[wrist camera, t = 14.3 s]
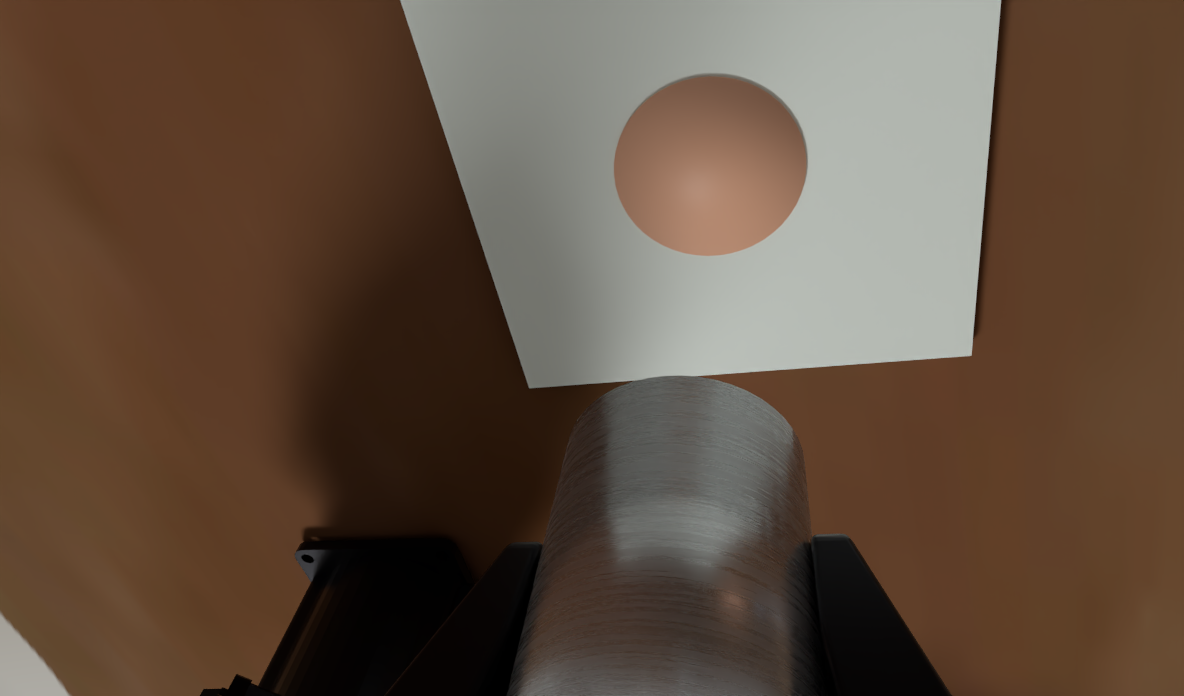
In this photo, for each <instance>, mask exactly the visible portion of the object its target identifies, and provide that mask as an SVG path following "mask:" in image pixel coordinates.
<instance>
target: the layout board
mask: <svg viewBox="0 0 1184 696" xmlns="http://www.w3.org/2000/svg"><path fill="white" fill-rule="evenodd" d="M400 1H401V4H402V7H403V10H404V13H405V16H406V19H407V22H408V25H409V28H410V31H411V34H412V37H413V40H414V43H415V46H416V49H417V52H418V55H419V58H420V61H421V64H422V67H423V70H424V73H425V76H426V79H427V82H428V85H429V88H430V91H431V94H432V97H433V100H434V103H435V106H436V109H437V112H438V115H439V118H440V121H441V124H442V127H443V130H444V133H445V136H446V139H447V142H448V145H449V148H450V151H451V154H452V157H453V160H454V163H455V166H456V169H457V173H458V176H459V179H460V182H461V185H462V188H463V191H464V194H465V197H466V200H467V203H468V206H469V209H470V212H471V215H472V218H473V221H474V224H475V227H476V230H477V233H478V236H479V239H480V242H481V245H482V248H483V251H484V254H485V257H486V260H487V263H488V266H489V269H490V272H491V275H492V278H493V281H494V284H495V287H496V290H497V293H498V296H499V299H500V302H501V305H502V308H503V311H504V314H505V317H506V320H507V323H508V326H509V329H510V332H511V335H512V338H513V341H514V344H515V347H516V350H517V353H518V356H519V359H520V362H521V365H522V368H523V371H524V374H525V377H526V380H527V383H528V386H529V388H541V387H554V386H568V385H581V384H595V383H608V382H622V381H635V380H642V379H646V378H652V377H660V376H703V375H717V374H730V373H744V372H757V371H771V370H784V369H798V368H811V367H825V366H839V365H852V364H866V363H879V362H893V361H906V360H920V359H933V358H947V357H960V356H971V355H972V344H973V332H974V320H975V308H976V296H977V284H978V272H979V260H980V248H981V236H982V224H983V212H984V200H985V188H986V176H987V164H988V152H989V140H990V128H991V116H992V104H993V92H994V80H995V68H996V56H997V44H998V32H999V20H1000V8H1001V0H400Z"/></svg>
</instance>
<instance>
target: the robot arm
mask: <svg viewBox="0 0 1184 696" xmlns="http://www.w3.org/2000/svg"><path fill="white" fill-rule="evenodd" d="M542 547H543V545H542V544H541V543H540V542H515V543H511V544H510V545H508V546H507V547H506V548H505V549H504V550H503V551H502V553H501V554H500V555H499V556H498V557H497V559H496V560H495V561H494V562H493V564H492V565H491V566H490V567H489V568H488V570H487V571H486V572H485V573H484V575H483V576H482V577H481V578H480V579H479V581H478V582H477V583H476V584H475V583H474V581H473V579H472V577H471V575H470V573H469V571H468V568H467V566H466V564H465V562H464V560H463V558H462V556H461V554H460V551H459V549H458V547H457V546H456V544H455V543H453V542H452V541H450V540H447V539H442V538H432V539H393V540H354V541H315V542H303V543H301V544H300V546H299V547H298V549H297V551H296V553H295V558H296V560H297V561H298V563H299V564H300V566H301V567H302V569H303V570H304V572H305V573H306V575H307V576H308V578H309V579H310V581H311V584H310V586H309V588H308V590H307V591H306V593H305V595H304V597H303V599H302V601H301V603H300V605H299V607H298V609H297V611H296V613H295V615H294V617H293V619H292V621H291V623H290V625H289V627H288V628H287V630H286V632H285V634H284V636H283V638H282V640H281V642H280V644H279V646H278V648H277V650H276V652H275V654H274V656H273V658H272V660H271V662H270V663H269V665H268V667H267V669H266V671H265V673H264V675H263V677H262V679H261V681H260V683H259V685H258V686H257V685H254V684H252V683H251V682H252V680H250V679H248V678H245V677H243V676H240V675H238V674H236V676H235V678H234V680H233V681H232V683H231V685H230V687H229V689H225V688H223V687H222V689H203V691H202V693H201V695H200V696H506V695H507V691H508V686H509V682H510V678H511V674H512V670H513V666H514V662H515V658H516V654H517V650H518V645H519V641H520V637H521V633H522V629H523V625H524V621H525V617H526V613H527V608H528V604H529V600H530V596H531V592H532V588H533V584H534V580H535V576H536V571H537V567H538V563H539V559H540V555H541V551H542ZM811 549H812V560H813V570H814V580H815V590H816V600H817V611H818V621H819V631H820V641H821V649H822V657H823V664H824V670H825V677H826V684H827V691H828V696H952V695H951V694H950V692H949V690H948V689H947V687H946V686H945V684H944V683H943V681H942V680H941V678H940V676H939V675H938V673H937V672H936V670H935V669H934V667H933V666H932V664H931V662H930V661H929V659H928V658H927V656H926V655H925V653H924V652H923V650H922V648H921V647H920V645H919V644H918V642H917V641H916V639H915V638H914V636H913V634H912V633H911V631H910V630H909V628H908V627H907V625H906V624H905V622H904V620H903V619H902V617H901V616H900V614H899V613H898V611H897V610H896V608H895V607H894V605H893V603H892V602H891V600H890V599H889V597H888V596H887V594H886V593H885V591H884V589H883V588H882V586H881V585H880V583H879V582H878V580H877V579H876V577H875V575H874V574H873V572H872V571H871V569H870V568H869V566H868V565H867V563H866V561H865V560H864V558H863V557H862V555H861V554H860V552H859V551H858V549H857V547H856V546H855V544H854V543H853V541H852V540H851V539H850V538H849V537H848V536H847V535H845V534H817V535H814V536H813V537H812V539H811Z"/></svg>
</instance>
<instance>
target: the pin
mask: <svg viewBox="0 0 1184 696" xmlns="http://www.w3.org/2000/svg"><path fill="white" fill-rule="evenodd" d="M811 539H812V531H811V521H810V511H809V501H808V491H807V481H806V471H805V462H804V456H803V450H802V447H801V445H800V442H799V439H798V437H797V436H796V434H795V432H794V430H793V429H792V427H791V426H790V425H789V423H788V422H787V421H786V420H785V418H784V417H783V416H782V415H781V414H780V413H779V412H777V411H776V410H775V409H774V408H773V407H772V406H770V405H769V404H768V403H766V402H765V401H763V400H762V399H761V398H759V397H757V396H755V395H753V394H752V393H750V392H748V391H746V390H743V389H741V388H739V387H736V386H734V385H731V384H728V383H724V382H721V381H717V380H713V379H708V378H702V377H694V376H660V377H652V378H646V379H642V380H638V381H634V382H631V383H628V384H625V385H622V386H620V387H617V388H615V389H613V390H612V391H610V392H608V393H606V394H604V395H603V396H601V397H600V398H598V399H597V400H596V401H594V402H593V403H592V404H591V405H590V406H589V407H588V408H587V409H586V410H585V411H584V412H583V413H582V414H581V416H580V417H579V418H578V420H577V421H576V423H575V425H574V427H573V429H572V431H571V434H570V437H569V440H568V444H567V448H566V452H565V456H564V461H563V465H562V469H561V473H560V477H559V481H558V485H557V489H556V493H555V498H554V502H553V506H552V510H551V514H550V518H549V522H548V526H547V530H546V534H545V539H544V543H543V547H542V551H541V555H540V559H539V563H538V567H537V571H536V576H535V580H534V584H533V588H532V592H531V596H530V600H529V604H528V608H527V613H526V617H525V621H524V625H523V629H522V633H521V637H520V641H519V645H518V650H517V654H516V658H515V662H514V666H513V670H512V674H511V678H510V682H509V686H508V691H507V695H506V696H828V691H827V684H826V677H825V670H824V664H823V657H822V649H821V641H820V631H819V621H818V611H817V600H816V590H815V580H814V570H813V560H812V549H811Z"/></svg>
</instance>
